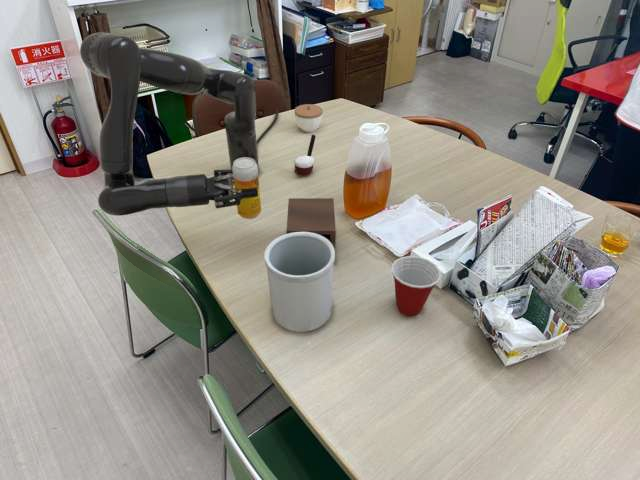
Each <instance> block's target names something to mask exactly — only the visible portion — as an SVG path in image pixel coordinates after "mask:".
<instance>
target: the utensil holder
mask: <svg viewBox="0 0 640 480" xmlns="http://www.w3.org/2000/svg"><path fill="white" fill-rule="evenodd" d="M263 258H264V263H265V267H266V271H267V279H268V281H267V282H268V289H269V290H268V291H269V296H270V305H271V309H272V314H273V317H274V319H275V321H276V322H277V324H279V326H281V327H282V328H284V329H286V330H289V331H291V332H295V333H296V332H297V333H305V332H312V331H314V330H317V329H319V328H321V327H322V326H323V325H325V324H326V323H327V321H328V320H329V319H330V317H331V314H332V309H333V308H332V306H333V296H334V295H333V292H334V291H333V290H334V288H333V286H334V266H335V259H336V249H335V250H334V247H333V245H332V244H331V242H330V241H329V240H327V239H326V238H325V237H323V236H321V235H319V234H315V233H311V232H293V233H289V234H287V233H285V234H282V235H280V236H278V237H276V238H275V239H273V240H272V241H271V242H270V243H269V244H268V245H267V246H266V248H265V250H264V255H263Z"/></svg>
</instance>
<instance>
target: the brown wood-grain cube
mask: <svg viewBox="0 0 640 480" xmlns="http://www.w3.org/2000/svg"><path fill="white" fill-rule="evenodd" d="M334 201H335V200H334V198H333V197H331V198H330V197H329V198H327V197H326V198H325V197H324V198H321V197H320V198H318V197H315V198H313V197H312V198H311V197H309V198H305V197H304V198H297V197H295V198H293V197H291V198H288V201H287V202H288V203H287V218H286V234H289V233H293V232H311V233H315V234H319V235H321V236H323V237H325V238H326V239H327V240H329V241H330V242H331V244H332V245H333V247H334V250H335V251H336V233H337V232H336V217H335V216H336V215H335V202H334Z"/></svg>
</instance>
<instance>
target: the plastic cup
mask: <svg viewBox="0 0 640 480" xmlns="http://www.w3.org/2000/svg"><path fill="white" fill-rule="evenodd" d="M391 274H392V277H393V282H394V293H395V302H396V303H395V305H396V309H397V311H398V312H399V313H400V314H401V315H404V316H406V317H415V316H416V317H417V315H419V314H420V313H421V312H422V310H423V308H424V306H425V304H426V303H427V301H428V299H429V297H430V294H431V292H432V291H433V288H434V287H435V286H436V285H437V284H438V283H439V281H440V279H441V277H442V272H441V270H440V268H439V267H438V265H437V264H436V263H434V262H433V261H431V260H430V259H428V258H424V257H422V256H415V255H407V256H401V257H399V258H397V259H395V260H394V261H393V263H392V264H391Z"/></svg>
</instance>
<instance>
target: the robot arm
mask: <svg viewBox="0 0 640 480" xmlns="http://www.w3.org/2000/svg"><path fill="white" fill-rule="evenodd" d="M79 55H80V58H81V61H82V62H83V64H84V65H85V67H86V68H87V69H88V70H89V71H90V72H91V73H93V74H95V75H96V76H98V77H100V78H104V79H109V80H110V81H109V82H110V88H111V94H110V95H111V97H110V103H109V107H108V111H107V114H106V116H105V118H104V120H103V123H102V125H101V128H100V132H99V139H98V148H99V150H98V151H99V153H98V154H99V165H100V169H101V171H103V176H104V177H103V178H104V187H103V189H102V190H101V191H100V192H99V194H98V198H97V204H98V207H99V208H100V210H101V211H102V212H104V213H105V214H107V215H110V216H115V217H116V216H118V217H119V216H120V217H121V216H128V215H133V214H137V213H141V212H144V211H147V210H152V209H165V208H166V209H167V208H188V207H197V206H207V205H209V204H210V201H213V202H214V207H215V208H216V209H222V208H223V209H224V208H227V207H233V206H237V205H239V204H240V201H241V200H242V199H243V198H251V197H257V196H258V189H257V188H248V189H242V190H241V189H235V186H234V178H233V170H232V166H233V163H234V161H235V160H236V159H239V158H243V157H248V158H252V159H254V160H255V162H256V164H257V166H258V176H259V175H260V172H261V171H260V165H259V153H258V144H259V142H260V141H261V139H262V138H263V137H264V136H265V135H266V134H267V133H268V132H269V131H270V129H271V128H272V127H273V126H274V124H275V123H276V121H277V119H278V117H279V111H280V108H279V107H276V109H275V110H276V111H275V116H274V118H273V120H272V122H271V123H270V124H269V126H267V128H266V129H265V130H264V131H263V133H262V134H261V135H260V136H259V137H258V138H257V131H256V116H257V93H256V92H257V91H256V90H257V89H256V85H255V81H254V79H253V77H252V76H250V75H248V74H245V73H241V72H237V71H233V70H226V69H217V68H211V67H207V66H206V65H204V64H203V63H202V62H200V61H199V60H196V59H194V58H192V57H189V56H185V55H182V54H179V53H175V52H171V51H170V52H169V51H164V50H158V49H157V50H156V49H149V48H142V47H140V46H139V44H138V43H137V42H136V41H135V40H134V39H133V38H131V37H130V36H127V35H124V34H123V35H122V34H117V33H111V32H104V31H101V32H94V33H92V34H89V35H88V36H86V37H85V38H84V39H83V40H82V42H81V44H80V48H79ZM141 83H144V84H146V85H150V86H153V87H155V88H158V89H162V90H165V91H167V92H172V93H176V94H180V95H186V96H198V95H205V96H208V97H212V98H214V99H216V100H218V101H220V102H224V103H225V104H229V105H233V106H234V110H233V111H231V112H229V113H227V114H226V115H225V117H224V128H225V136H226V142H227V150H228V158H229V165H230V169H214V170H213V176H212V177H207V175H206V174H205V173H200V174H199V173H198V174H190V175H189V174H188V175H178V176H172V177H166V178H157V179H155V178H153V179H147V180H145V181H143V182H142V183H139V184H138V183H137V184H136V183H135V176H134V170H133V165H134V150H133V149H134V148H133V147H134V145H133V142H134V141H133V138H134V137H133V135H134V123H135V116H136V109H137V104H138V97H139V90H140V85H141ZM235 193H236V194H235Z"/></svg>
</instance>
